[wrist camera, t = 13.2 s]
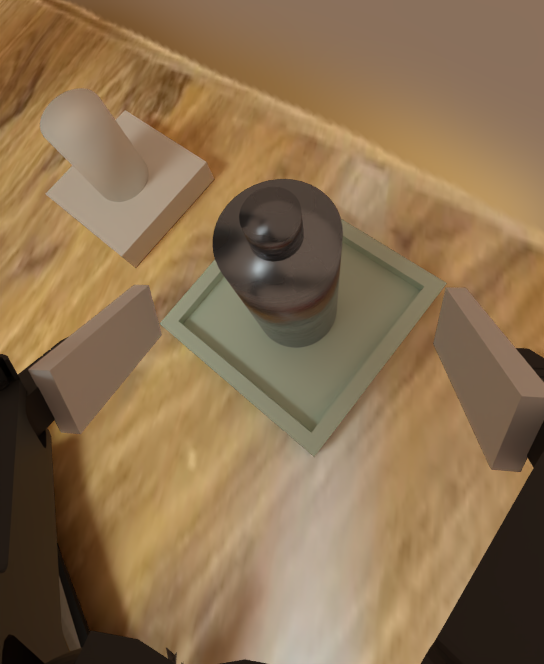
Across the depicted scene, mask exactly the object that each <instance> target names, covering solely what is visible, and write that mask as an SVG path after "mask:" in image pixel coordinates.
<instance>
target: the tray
mask: <svg viewBox="0 0 544 664" xmlns="http://www.w3.org/2000/svg"><path fill="white" fill-rule="evenodd" d="M341 222H342V228H343V239H342V252H341V264H340V276H339V289H338V301H337V313H336V318H335V321H334V324H333V326H332V328H331V329H330V331H329V332H328V333H327V334H326V335H325V336H324V337H323V338H322V339H321V340H319V341H318V342H316V343H314V344H312V345H309V346H305V347H298V348H294V347H287V346H283V345H280V344H278V343H276V342H275V341H273V340H272V339H271V338H269V337H268V336H267V334H266V333H265V332H264V331H263V329H262V328H261V327H260V325H259V324H258V322H257V321H256V320H255V318H254V317H253V316H252V314H251V313H250V311H249V310H248V309H247V307H246V306H245V305H244V303H243V302H242V300H241V299H240V298H239V296H238V295H237V293H236V292H235V291H234V289H233V288H232V287H231V285H230V284H229V282H228V281H227V280H226V278H225V277H224V276H223V274H222V273H221V271H220V269H219V268H218V265H217V263H216V261H215V260H214V261H213V262H212V263H211V265H210V266H209V267H208V268H207V269H206V270H205V272H204V273H203V274H202V275H201V276H200V277H199V279H198V280H197V281H196V282H195V283H194V284H193V285H192V287H191V288H190V289H189V290H188V291H187V292H186V294H185V295H184V296H183V297H182V298H181V299H180V301H179V302H178V303H177V304H176V305H175V306H174V308H173V309H172V310H171V311H170V312H169V313H168V315H167V316H166V317H165V318H164V319H163V320H162V321H161V323H160V324H161V325H162V326H163V327H164V328H165V329H166V330H168V331H169V332H170V333H171V334H172V335H173V336H175V337H176V338H177V339H178V340H179V341H180V342H181V343H183V344H184V345H185V346H186V347H187V348H188V349H190V350H191V351H192V352H193V353H194V354H195V355H197V356H198V357H199V358H200V359H201V360H202V361H204V362H205V363H206V364H207V365H208V366H209V367H210V368H212V369H213V370H214V371H215V372H216V373H217V374H219V375H220V376H221V377H222V378H223V379H224V380H226V381H227V382H228V383H229V384H230V385H231V386H232V387H234V388H235V389H236V390H237V391H238V392H239V393H241V394H242V395H243V396H244V397H245V398H246V399H248V400H249V401H250V402H251V403H252V404H253V405H255V406H256V407H257V408H258V409H259V410H260V411H261V412H263V413H264V414H265V415H266V416H267V417H268V418H270V419H271V420H272V421H273V422H274V423H275V424H277V425H278V426H279V427H280V428H281V429H282V430H283V431H285V432H286V433H287V434H288V435H289V436H290V437H292V438H293V439H294V440H295V441H296V442H297V443H299V444H300V445H301V446H302V447H303V448H304V449H306V450H307V451H308V452H309V453H310V454H311V455H312V456H314V457H315V455H316V454H317V453H318V451H319V450H320V449H321V448H322V446H323V445H324V444H325V442H326V441H327V440H328V438H329V437H330V436H331V434H332V433H333V432H334V430H335V429H336V428H337V427H338V425H339V424H340V423H341V421H342V420H343V419H344V417H345V416H346V415H347V413H348V412H349V411H350V410H351V408H352V407H353V406H354V404H355V403H356V402H357V400H358V399H359V398H360V396H361V395H362V394H363V393H364V391H365V390H366V389H367V387H368V386H369V385H370V383H371V382H372V381H373V379H374V378H375V377H376V375H377V374H378V373H379V372H380V370H381V369H382V368H383V366H384V365H385V364H386V362H387V361H388V360H389V358H390V357H391V356H392V355H393V353H394V352H395V351H396V349H397V348H398V347H399V345H400V344H401V343H402V341H403V340H404V339H405V338H406V336H407V335H408V334H409V332H410V331H411V330H412V328H413V327H414V326H415V324H416V323H417V322H418V321H419V319H420V318H421V317H422V315H423V314H424V313H425V311H426V310H427V309H428V307H429V306H430V305H431V303H432V302H433V301H434V300H435V298H436V297H437V296H438V294H439V293H440V292H441V290H442V289H443V288H444V286H445V285H446V284H447V283H446V282H444V281H442V280H441V279H439V278H438V277H436V276H434V275H433V274H431V273H429V272H428V271H426V270H424V269H423V268H421V267H419V266H418V265H416V264H415V263H413V262H411V261H410V260H408V259H406V258H405V257H403V256H401V255H400V254H398V253H396V252H395V251H393V250H392V249H390V248H388V247H387V246H385V245H383V244H382V243H380V242H378V241H377V240H375V239H373V238H372V237H370V236H368V235H367V234H365V233H364V232H362V231H360V230H359V229H357V228H355V227H354V226H352V225H350V224H349V223H347V222H345V221H344V220H342V219H341Z"/></svg>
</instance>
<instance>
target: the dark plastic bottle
mask: <svg viewBox="0 0 544 664" xmlns="http://www.w3.org/2000/svg"><path fill="white" fill-rule="evenodd" d="M342 239H343V228H342V222H341V218H340V215H339V213H338V210H337V208H336V207H335V205H334V203H333V202H332V201H331V200H330V198H329V197H328V196H327V195H325V194H324V193H323V192H322V191H320V190H319V189H318V188H316V187H314V186H312V185H310V184H307V183H305V182H302V181H297V180H291V179H276V180H269V181H265V182H261V183H259V184H256V185H253V186H251V187H249V188H247V189H246V190H244V191H243V192H241V193H240V194H238V195H237V196H236V197H235V198H234V199H233V200H232V201H231V202H230V203H229V204H228V205H227V206H226V207H225V209H224V210H223V212H222V213H221V215H220V217H219V219H218V221H217V223H216V226H215V230H214V234H213V253H214V257H215V261H216V263H217V265H218V268H219V269H220V271H221V273H222V274H223V276H224V277H225V278H226V280H227V281H228V282H229V284H230V285H231V287H232V288H233V289H234V291H235V292H236V293H237V295H238V296H239V298H240V299H241V300H242V302H243V303H244V305H245V306H246V307H247V309H248V310H249V311H250V313H251V314H252V316H253V317H254V318H255V320H256V321H257V322H258V324H259V325H260V327H261V328H262V329H263V331H264V332H265V333H266V334H267V336H268V337H269V338H271V339H272V340H273V341H275V342H276V343H278V344H280V345H283V346H287V347H294V348H298V347H305V346H309V345H312V344H314V343H316V342H318V341H319V340H321V339H322V338H323V337H324V336H325V335H326V334H327V333H328V332H329V331H330V329H331V328H332V326H333V324H334V321H335V318H336V313H337V301H338V289H339V276H340V264H341V252H342Z"/></svg>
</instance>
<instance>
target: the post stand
mask: <svg viewBox="0 0 544 664" xmlns="http://www.w3.org/2000/svg"><path fill="white" fill-rule="evenodd" d="M40 129H41V132H42V134H43V136H44V137H45V138H46V139H47V140H48V141H49V142H50V143H51V144H52V145H53V146H54V147H55V148H56V149H57V150H58V151H59V152H60V153H61V154H62V155H63V156H64V157H65V158H66V159H67V160H68V161H69V162H70V163H71V164H72V166H71V168H70V169H69V170H68V171H67V172H66V173H65V174H64V175H63V176H62V177H61V178H60V179H59V180H58V181H57V182H56V183H55V184H54V185H53V186H52V187H51V189H50V190H49V191H48V192H47V193H46V195H47V196H49V197H50V198H51V199H52V200H53V201H55V202H56V203H57V204H58V205H60V206H61V207H62V208H63V209H64V210H66V211H67V212H68V213H69V214H70V215H72V216H73V217H74V218H75V219H77V220H78V221H79V222H80V223H81V224H83V225H84V226H85V227H86V228H88V229H89V230H90V231H91V232H92V233H94V234H95V235H96V236H97V237H99V238H100V239H101V240H102V241H103V242H105V243H106V244H107V245H108V246H109V247H111V248H112V249H113V250H114V251H116V252H117V253H118V254H119V255H120V256H122V257H123V258H124V259H125V260H127V261H128V262H129V263H130V264H132V265H133V266H134V267H135V268H136V267H137V266H138V264H139V263H140V262H141V261H142V260H143V259H144V258H145V257H146V255H147V254H148V253H149V252H150V251H151V250H152V249H153V248H154V246H155V245H156V244H157V243H158V242H159V241H160V240H161V239H162V237H163V236H164V235H165V234H166V233H167V232H168V231H169V230H170V228H171V227H172V226H173V225H174V224H175V223H176V222H177V221H178V219H179V218H180V217H181V216H182V215H183V214H184V213H185V212H186V210H187V209H188V208H189V207H190V206H191V205H192V204H193V203H194V201H195V200H196V199H197V198H198V197H199V196H200V195H201V194H202V192H203V191H204V190H205V189H206V188H207V187H208V186H209V185H210V183H211V182H212V181H213V180H214V177H213V175H212V173H211V171H210V168H209V166H208V164H207V162H206V161H204V160H203V159H201V158H199V157H198V156H196V155H195V154H193V153H192V152H190V151H188V150H187V149H185V148H184V147H182V146H181V145H179V144H177V143H176V142H174V141H173V140H171V139H170V138H168V137H166V136H165V135H163V134H162V133H160V132H159V131H157V130H155V129H154V128H152V127H151V126H149V125H148V124H146V123H144V122H143V121H141V120H140V119H138V118H137V117H135V116H133V115H132V114H130V113H129V112H127V111H126V110H125V111H124V112H123V113H122V114H121V115H120V116H119V117H118V118H117V119H116V120H115V119H114V117H113V116H112V115H111V113H110V112H109V110H108V109H107V107H106V106H105V105H104V103H103V102H102V100H101V99H100V97H99V96H98V95H97V94H96V93H95V92H93V91H91V90H88V89H82V88H80V89H73V90H69V91H67V92H64V93H62V94H60V95H59V96H57V97H56V98H55V99H54V100H52V101H51V102H50V104H49V105H48V106H47V107H46V109H45V110H44V112H43V114H42V117H41V121H40Z"/></svg>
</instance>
